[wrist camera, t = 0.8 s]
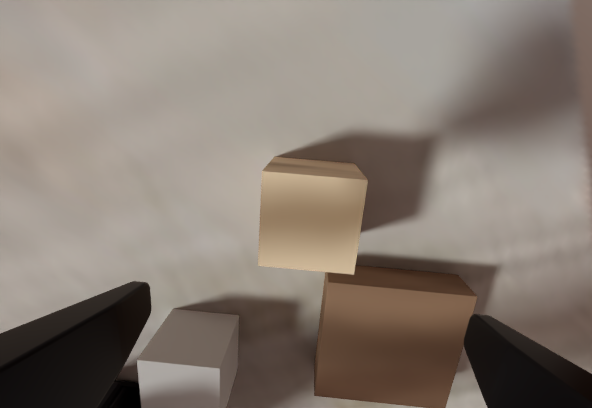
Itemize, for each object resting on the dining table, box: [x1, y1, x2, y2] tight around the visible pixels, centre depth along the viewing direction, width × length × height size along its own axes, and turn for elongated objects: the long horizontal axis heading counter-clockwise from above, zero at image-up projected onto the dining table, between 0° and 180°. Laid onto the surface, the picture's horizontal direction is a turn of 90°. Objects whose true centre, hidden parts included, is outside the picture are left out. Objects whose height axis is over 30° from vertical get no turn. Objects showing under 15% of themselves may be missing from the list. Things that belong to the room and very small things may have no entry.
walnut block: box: [314, 265, 477, 408], centre depth 21 cm, size 9×9×3 cm
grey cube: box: [137, 309, 239, 408], centre depth 21 cm, size 5×5×5 cm
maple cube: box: [258, 157, 368, 275], centre depth 17 cm, size 5×5×5 cm
